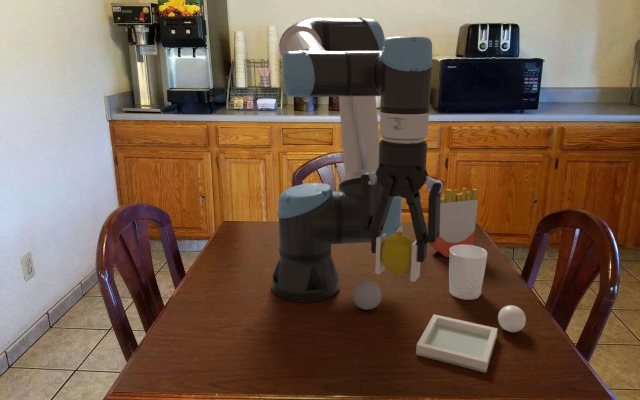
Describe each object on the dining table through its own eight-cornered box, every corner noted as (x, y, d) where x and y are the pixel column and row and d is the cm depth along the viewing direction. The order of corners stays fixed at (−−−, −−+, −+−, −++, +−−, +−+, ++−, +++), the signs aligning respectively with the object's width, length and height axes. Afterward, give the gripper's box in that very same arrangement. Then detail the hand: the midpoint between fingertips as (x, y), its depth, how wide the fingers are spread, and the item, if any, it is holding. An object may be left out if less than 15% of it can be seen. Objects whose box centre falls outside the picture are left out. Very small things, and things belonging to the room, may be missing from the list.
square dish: (415, 354, 90) (416, 344, 90) (433, 323, 101) (433, 314, 100) (486, 373, 85) (487, 362, 85) (496, 337, 96) (497, 328, 95)
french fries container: (427, 251, 136) (432, 186, 131) (463, 247, 139) (469, 183, 134) (436, 258, 132) (441, 191, 127) (473, 253, 135) (479, 187, 130)
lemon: (410, 269, 90) (413, 226, 87) (416, 283, 84) (418, 237, 82) (379, 269, 90) (380, 226, 88) (382, 282, 84) (384, 237, 82)
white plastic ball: (494, 333, 97) (497, 309, 96) (498, 321, 101) (501, 298, 100) (522, 339, 95) (526, 315, 94) (525, 327, 99) (528, 304, 98)
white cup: (484, 303, 109) (489, 259, 106) (446, 299, 110) (450, 256, 107) (481, 286, 116) (485, 245, 113) (445, 283, 118) (448, 243, 115)
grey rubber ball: (347, 311, 105) (348, 284, 104) (358, 298, 110) (359, 273, 109) (375, 317, 103) (376, 290, 101) (385, 304, 108) (386, 278, 106)
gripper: (340, 138, 82) (338, 271, 88) (455, 147, 73) (445, 295, 79) (359, 132, 88) (357, 257, 94) (468, 140, 79) (457, 277, 86)
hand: (397, 274), depth 87 cm, fingers closed on lemon, 5 cm apart
